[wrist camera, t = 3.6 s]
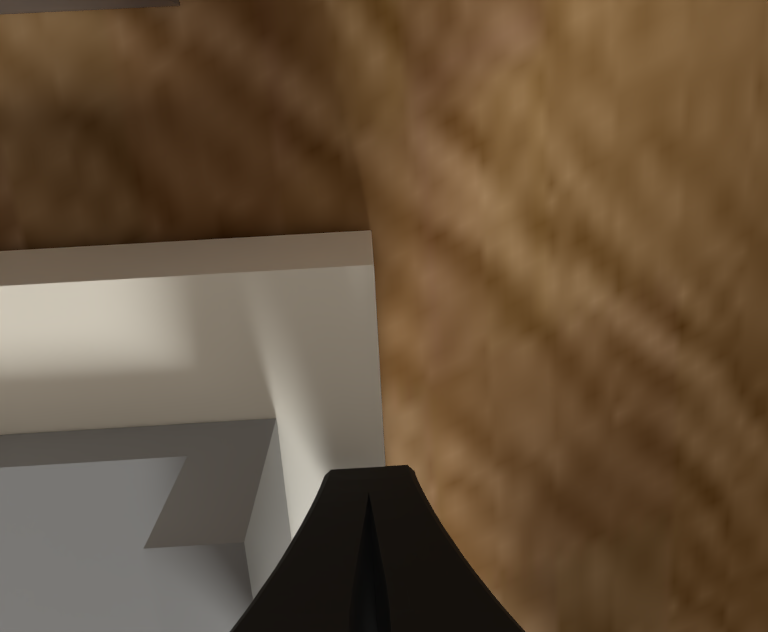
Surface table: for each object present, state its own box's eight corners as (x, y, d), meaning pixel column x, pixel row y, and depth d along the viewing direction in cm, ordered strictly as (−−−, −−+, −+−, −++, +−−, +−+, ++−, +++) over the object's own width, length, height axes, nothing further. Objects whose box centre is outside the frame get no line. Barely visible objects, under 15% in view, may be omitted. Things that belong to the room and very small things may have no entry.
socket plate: (371, 230, 12) (374, 264, 9) (397, 692, 16) (404, 796, 14) (-215, 263, 12) (-360, 306, 9) (-36, 721, 16) (-106, 831, 13)
